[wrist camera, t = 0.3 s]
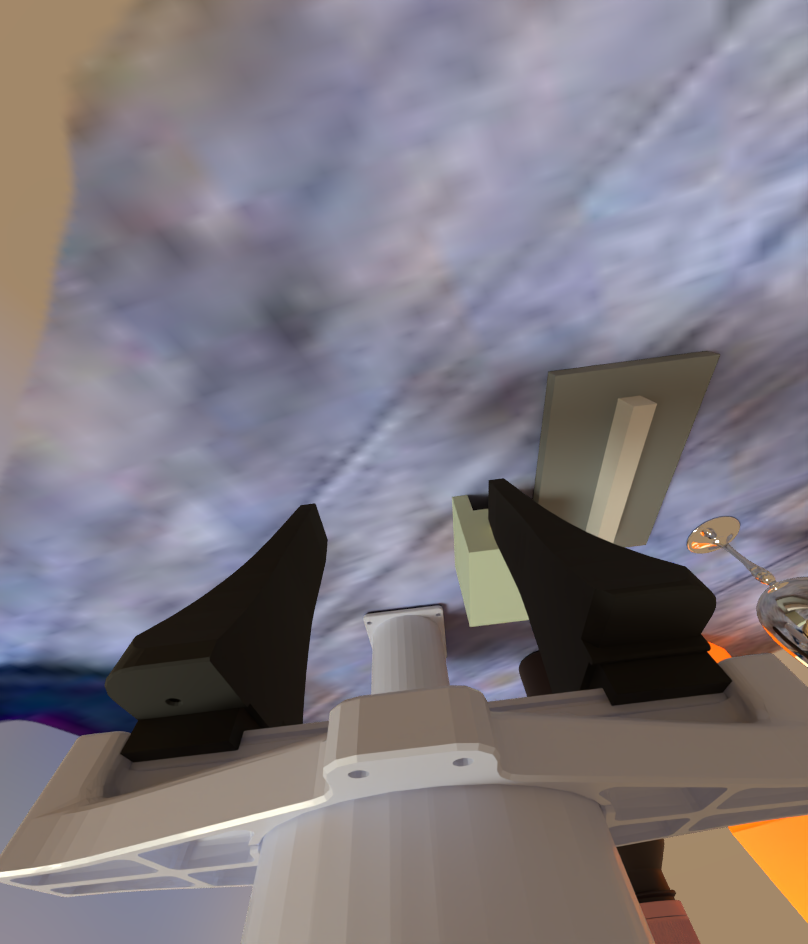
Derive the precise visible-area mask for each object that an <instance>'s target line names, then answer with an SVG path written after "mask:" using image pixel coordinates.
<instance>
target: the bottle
mask: <svg viewBox="0 0 808 944" xmlns="http://www.w3.org/2000/svg"><path fill="white" fill-rule="evenodd" d="M519 673H520V676H521V679H522V682H523V685H524V688H525V691H526V694H527V697H532V696H540V695H549V694H552V690H551V687H550V684H549V680H548V677H547V673H546V670H545V667H544V664H543V661H542V657H541V654H540V651H537V652H535V653H532V654H530V655H529V656H527V657H526V658H525V659H524V660H523V661H522V662H521V664H520V666H519ZM616 848H617V850H618V853H619V855H620V858H621V860H622V863H623V865H624V868H625V870H626V873H627V875H628V877H629V880H630V882H631V885H632V887H633V890H634V892H635V895H636V897H637V900H638V902H639V904H640V907H641V909H642V912H643V914H644V917H645V919H646V922H647V924H648V927H649V929H650V932H651V934H652V936H653V939H654V941H655V944H700V942H699V940H698V937H697V935H696V933H695V931H694V929H693V927H692V925H691V923H690V920H689V918H688V916H687V914H686V912H685V910H684V908H683V906H682V903H681V901H679V900H675V899H674V896H675V894H676V892H675V891H674V890H670V888H669V886H668V884H667V882H666V880H665V877H664V875H663V873H662V870H661V867H662V860H663V851H664V839H657V840H652V841H646V842H641V843H635V844H630V845H624V846H619V847H616Z"/></svg>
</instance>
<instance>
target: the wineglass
mask: <svg viewBox="0 0 808 944" xmlns="http://www.w3.org/2000/svg"><path fill="white" fill-rule="evenodd" d="M739 530H740V523H739V521H738V520H737V519H735V518H733V517H729V516H724V517H718V518H714V519H711V520H709V521H707V522H705V523H703V524H701V525H700V526H699V527H697V528H696V529H695V530H694V531H693V532H692V533H691V534H690V536H689V537H688V539H687V544H686V545H687V548H688V549H689V550H690V551H691V552H693V553H698V554H702V553H709V552H712V551H715V550H718V549H720V548H723V549H725V550H726V551H728V552H729V553H731V554H732V555H733V556H734V557H735V558H737V559H738V560H739V561H740V562H742V563H743V565H744V566H745V567H746V568H747V569H748V570H749V571H750V572H751V574H752V576H753V577H754V578H755V579H756V580H758V581H760V582H761V583H763V584H766V585H769V586H770V587H769V588H767V589H766V590H765V591H764V592H763V593H762V595H761V596H760V598H759V600H758V603H757V606H756V611H757V616H758V619H759V622H760V623H761V625H762V627H763V628H764V629H765V631H766V632H767V633H768V634H769V635H770V637H771V638H772V639H773V640H774V641H775V642H776V643H777V644H778V645H780V646H781V647H782V648H783V649H784V650H785V651H787V652H788V653H789V654H790V655H792V656H793V657H794V658H795V659H797V660H798V661H799V662H801V663H802V664H803V665H805V666H806V667H807V668H808V576H807V577H796V578H790V579H786V580H782V581H779V582H776V580H775V577H774V576H773V575H772V574H771V573H770V572H769V571H768V570H766V569H764V568H763V567H760V566H758V565H756V564H754V563H753V562H751V561H749V560H748V559H746V558H745V557H744V556H742V555H741V554H740V553H739V552H737V551H736V550H735V549H734V548H733V547H732V546H731V545H730V544H729V542H731V541H732V540H733V539H734V538H735V537H736V535H737V534H738V532H739Z"/></svg>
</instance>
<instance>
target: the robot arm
mask: <svg viewBox="0 0 808 944" xmlns="http://www.w3.org/2000/svg"><path fill="white" fill-rule="evenodd" d="M488 520H489V523H490V527H491V530H492V533H493V536H494V539H495V541H496V544H497V546H498V548H499V550H500V552H501V554H502V556H503V559H504V561H505V563H506V565H507V567H508V569H509V571H510V573H511V575H512V577H513V579H514V582H515V584H516V586H517V588H518V591H519V593H520V595H521V598H522V601H523V604H524V606H525V609H526V612H527V615H528V618H529V621H530V624H531V627H532V630H533V633H534V636H535V639H536V642H537V645H538V648H539V651H540V654H541V657H542V661H543V664H544V667H545V670H546V673H547V677H548V680H549V684H550V687H551V690H552V694H549V695H540V696H532V697H524V698H515V699H507V700H499V701H490V702H487V700H486V698H485V697H484V695H483V693H481V692H480V691H478V690H476V689H473V688H470V687H468V686H456V685H450V684H449V678H448V672H447V666H446V658H447V651H446V639H445V627H444V615H443V608H442V606H439V605H437V606H429V607H421V608H412V609H404V610H396V611H387V612H379V613H371V614H366V615H364V623H365V626H366V630H367V633H368V636H369V640H370V643H371V646H372V649H373V652H372V686H371V695H363V696H358V697H354V698H351V699H347V700H344V701H343V702H341V703H340V704H339V705H337V706H336V707H335V708H334V709H333V710H331V711H330V717H329V721H323V722H315V723H306V724H303V708H304V694H305V682H306V670H307V661H308V651H309V642H310V634H311V627H312V620H313V615H314V610H315V605H316V601H317V597H318V593H319V588H320V584H321V580H322V576H323V571H324V567H325V562H326V554H327V541H328V539H327V537H326V534H325V531H324V528H323V525H322V522H321V519H320V516H319V513H318V510H317V507H316V504H315V503H314V504H307V505H301V506H300V507H299V508H298V509H297V510H296V511H295V512H294V513H293V514H292V515H291V517H290V518H289V519H288V520H287V521H286V522H285V523H284V524H283V526H282V527H281V528H280V529H279V530H278V531H277V532H276V533H275V534H274V535H273V537H272V538H271V539H270V540H269V541H268V542H267V543H266V544H265V545H264V546H263V547H262V548H261V549H260V550H259V551H258V552H257V553H256V554H255V555H254V556H253V557H252V558H250V559H249V560H248V561H247V562H246V563H245V564H244V565H243V566H241V567H240V568H239V569H238V570H237V571H236V572H234V573H233V574H232V575H231V576H229V577H228V578H227V579H226V580H224V581H223V582H222V583H220V584H219V585H217V586H216V587H215V588H213V589H212V590H211V591H209V592H208V593H207V594H205V595H204V596H202V597H201V598H199V599H198V600H196V601H195V602H193V603H192V604H190V605H189V606H187V607H186V608H184V609H182V610H181V611H179V612H178V613H176V614H174V615H173V616H171V617H169V618H168V619H166V620H164V621H162V622H160V623H159V624H157V625H155V626H153V627H152V628H150V629H148V630H146V631H145V632H143V633H141V634H139V635H137V636H136V637H135V638H134V639H133V641H132V642H131V644H130V645H129V647H128V648H127V649H126V651H125V652H124V654H123V655H122V657H121V658H120V660H119V661H118V663H117V664H116V665H115V667H114V668H113V670H112V671H111V673H110V674H109V676H108V677H107V679H106V682H105V688H106V691H107V693H108V695H109V696H110V697H111V698H112V699H113V700H114V701H115V702H116V703H117V704H118V705H120V706H121V707H122V708H124V709H125V710H126V711H127V712H129V713H130V714H131V715H132V716H134V717H135V718H136V719H137V720H138V722H137V724H136V726H135V727H134V729H133V731H132V733H128V732H123V731H115V732H107V733H98V734H90V735H83V736H81V737H79V738H77V740H76V741H75V743H74V745H73V746H72V748H71V749H70V751H69V752H68V754H67V755H66V757H65V758H64V760H63V761H62V763H61V764H60V766H59V767H58V769H57V770H56V772H55V773H54V775H53V776H52V778H51V779H50V781H49V782H48V784H47V785H46V787H45V788H44V790H43V792H42V793H41V794H40V796H39V797H38V799H37V800H36V802H35V803H34V805H33V806H32V808H31V809H30V811H29V812H28V814H27V816H26V817H25V819H24V820H23V821H22V823H21V825H20V826H19V828H18V829H17V831H16V832H15V834H14V835H13V837H12V838H11V840H10V841H9V843H8V844H7V846H6V847H5V849H4V850H3V852H2V853H1V855H0V883H5V884H9V885H14V886H18V887H22V888H27V889H31V890H36V891H40V892H45V893H49V894H54V895H58V896H62V897H73V896H83V895H93V894H103V893H116V892H129V891H146V890H165V889H186V888H212V887H236V886H253V889H252V893H251V898H250V903H249V907H248V912H247V917H246V921H245V926H244V931H243V935H242V940H241V944H655V941H654V939H653V936H652V934H651V932H650V929H649V927H648V924H647V922H646V919H645V917H644V914H643V912H642V909H641V907H640V904H639V902H638V900H637V897H636V895H635V892H634V890H633V887H632V885H631V882H630V880H629V877H628V875H627V873H626V870H625V868H624V865H623V863H622V860H621V858H620V855H619V853H618V850H617V848H616V847H619V846H624V845H630V844H635V843H641V842H646V841H652V840H657V839H663V838H668V837H673V836H679V835H684V834H690V833H696V832H701V831H707V830H712V829H718V828H724V827H730V826H736V825H742V824H748V823H754V822H761V821H768V820H774V819H781V818H789V817H797V816H805V815H808V687H807V686H805V684H804V683H803V682H802V681H801V680H799V679H798V678H797V677H796V676H795V675H794V674H793V673H792V672H791V671H790V670H789V669H788V668H787V667H786V666H785V665H784V664H783V663H782V662H781V661H780V660H779V659H778V658H777V657H776V656H775V655H774V654H771V653H763V654H754V655H746V656H738V657H731V658H727V659H724V660H722V661H720V662H719V663H717V662H716V661H715V660H714V659H713V658H712V657H711V655H710V654H709V653H708V652H707V651H710V650H711V646H710V644H709V643H708V642H707V641H706V640H705V638H704V637H703V636H702V635H701V633H702V631H703V629H704V628H705V626H706V625H707V623H708V621H709V620H710V618H711V617H712V615H713V613H714V610H715V608H716V597H715V595H714V594H713V593H712V591H711V590H710V589H709V588H708V587H706V586H705V585H704V584H703V583H702V582H701V581H700V580H699V579H698V578H697V577H696V576H695V575H694V574H693V573H692V572H691V571H690V570H689V569H687V568H686V567H685V566H681V565H678V564H674V563H671V562H667V561H664V560H660V559H657V558H653V557H650V556H647V555H644V554H641V553H638V552H635V551H632V550H629V549H627V548H624V547H621V546H619V545H616V544H613V543H611V542H609V541H606V540H604V539H602V538H599V537H597V536H595V535H592V534H590V533H588V532H586V531H584V530H582V529H580V528H578V527H576V526H574V525H572V524H570V523H569V522H567V521H565V520H563V519H561V518H560V517H558V516H557V515H555V514H553V513H552V512H550V511H548V510H547V509H545V508H544V507H542V506H541V505H539V504H538V503H536V502H535V501H534V500H532V499H531V498H529V497H528V496H527V495H525V494H524V493H523V492H521V491H520V490H519V489H517V488H516V487H515V486H513V485H512V484H511V483H509V482H508V481H507V480H505V479H504V478H503V479H495V480H489V498H488Z"/></svg>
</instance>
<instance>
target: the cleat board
mask: <svg viewBox="0 0 808 944" xmlns="http://www.w3.org/2000/svg"><path fill="white" fill-rule="evenodd" d="M719 357H720V354H717V353H713V352H708V351H702V352H695V353H687V354H679V355H672V356H664V357H657V358H649V359H641V360H634V361H626V362H619V363H611V364H603V365H596V366H588V367H580V368H573V369H565V370H558V371H550V372H548V379H547V388H546V396H545V404H544V412H543V421H542V429H541V437H540V445H539V454H538V462H537V470H536V478H535V487H534V495H533V500H534V501H535V502H536V503H538V504H539V505H541V506H542V507H544V508H545V509H547V510H548V511H550V512H552V513H553V514H555V515H557V516H558V517H560V518H561V519H563V520H565V521H567V522H569V523H570V524H572V525H574V526H576V527H578V528H580V529H582V530H584V531H586V532H588V533H590V534H592V535H595V536H597V537H599V538H602V539H604V540H606V541H609V542H611V543H613V544H616V545H619V546H621V547H632V546H640V545H646V543H647V541H648V538H649V535H650V533H651V530H652V528H653V525H654V523H655V520H656V518H657V515H658V513H659V510H660V507H661V505H662V502H663V500H664V497H665V495H666V492H667V490H668V487H669V484H670V482H671V479H672V477H673V474H674V472H675V469H676V467H677V464H678V461H679V459H680V456H681V454H682V451H683V449H684V446H685V444H686V441H687V438H688V436H689V433H690V431H691V428H692V426H693V423H694V421H695V418H696V415H697V413H698V410H699V408H700V405H701V403H702V400H703V398H704V395H705V392H706V390H707V387H708V385H709V382H710V380H711V377H712V375H713V372H714V369H715V367H716V364H717V362H718V359H719Z"/></svg>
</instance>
